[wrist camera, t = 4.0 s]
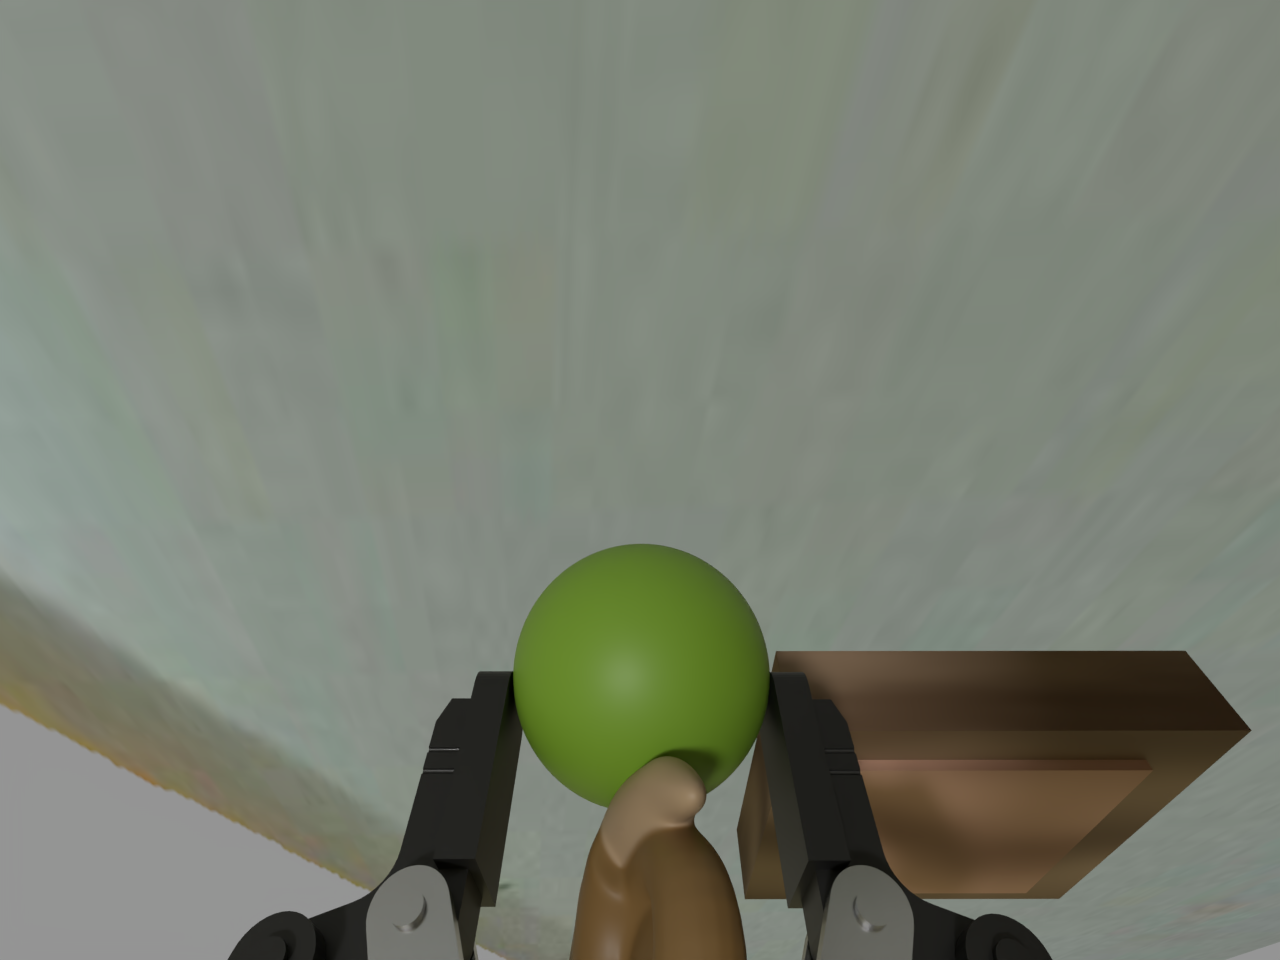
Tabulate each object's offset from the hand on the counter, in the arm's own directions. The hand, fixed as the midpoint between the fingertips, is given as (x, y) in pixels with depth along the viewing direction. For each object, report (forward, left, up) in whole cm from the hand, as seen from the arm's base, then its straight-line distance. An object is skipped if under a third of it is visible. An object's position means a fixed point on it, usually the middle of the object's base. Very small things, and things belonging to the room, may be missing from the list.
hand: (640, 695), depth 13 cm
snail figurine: (0, 0, -3) cm, 3 cm away
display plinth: (+9, +10, -3) cm, 14 cm away
